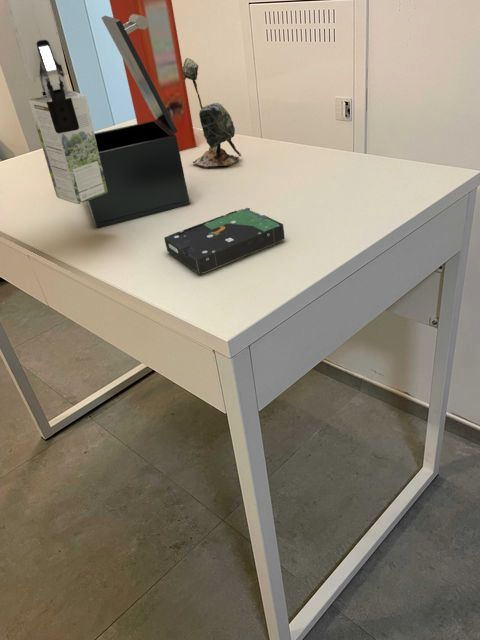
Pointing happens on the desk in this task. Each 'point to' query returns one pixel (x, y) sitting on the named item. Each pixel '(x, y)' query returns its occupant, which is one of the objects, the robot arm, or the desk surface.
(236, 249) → the disk drive
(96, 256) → the desk surface
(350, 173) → the desk surface
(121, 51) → the bin lid
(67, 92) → the robot arm
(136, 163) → the bin
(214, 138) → the plant with pod
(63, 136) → the syrup box
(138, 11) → the file binder
